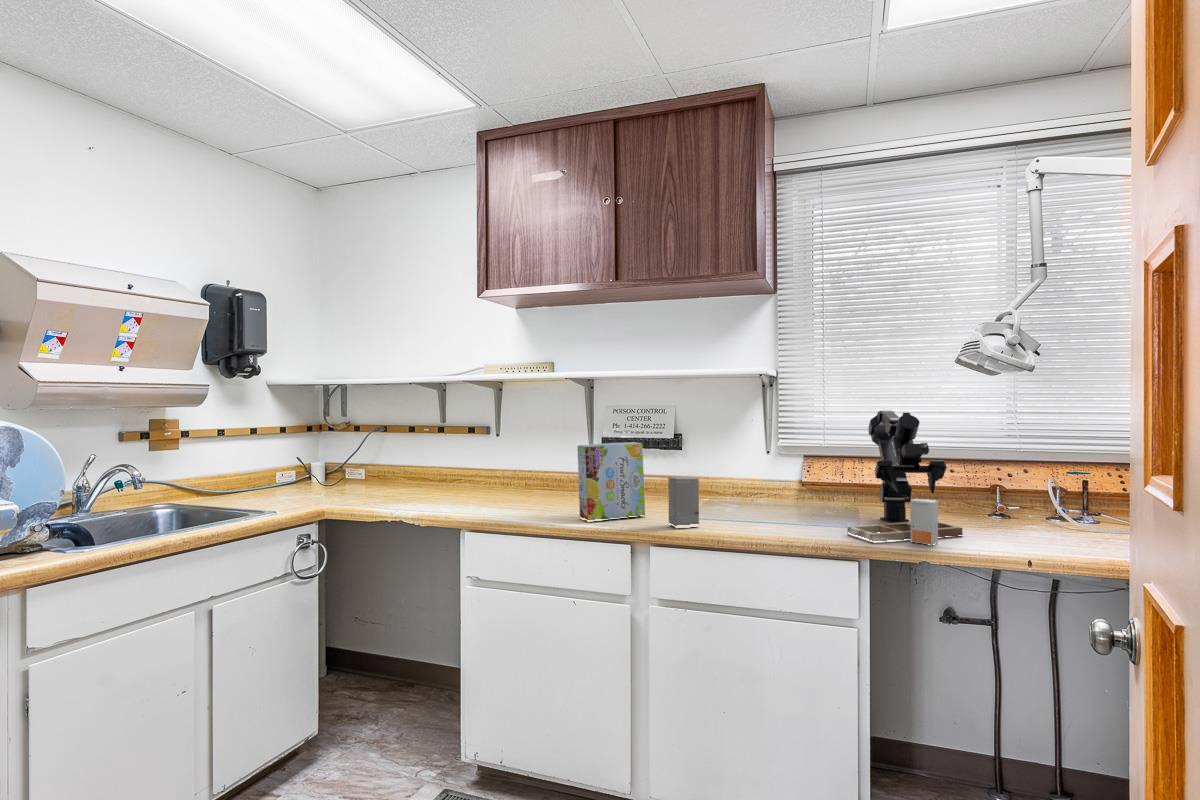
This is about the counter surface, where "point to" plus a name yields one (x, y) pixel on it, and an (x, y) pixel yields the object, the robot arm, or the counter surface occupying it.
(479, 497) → the counter surface
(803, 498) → the counter surface
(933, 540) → the skincare box
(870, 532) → the brown compartment tray
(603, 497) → the snack box
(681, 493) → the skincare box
